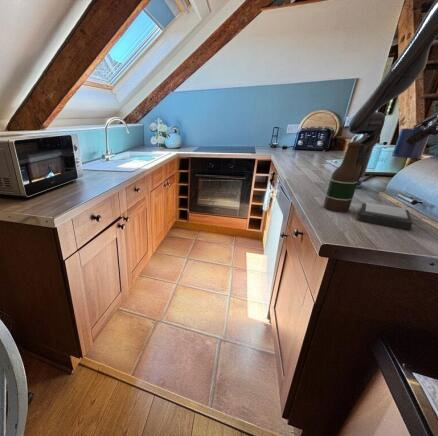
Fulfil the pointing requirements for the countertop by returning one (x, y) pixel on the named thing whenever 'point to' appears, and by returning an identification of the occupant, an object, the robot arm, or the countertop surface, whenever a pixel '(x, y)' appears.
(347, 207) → the beer bottle
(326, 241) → the countertop surface
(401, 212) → the kitchen scale
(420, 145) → the blue pot
